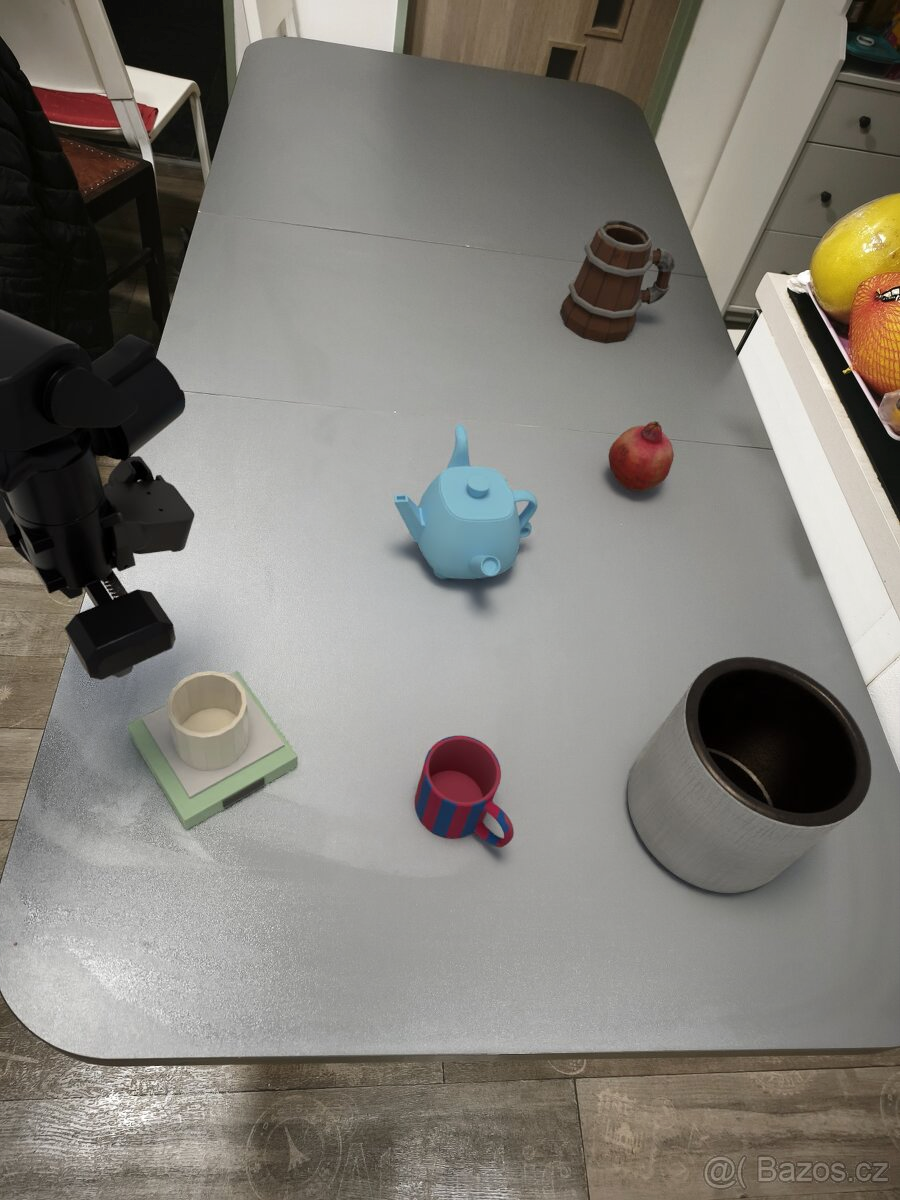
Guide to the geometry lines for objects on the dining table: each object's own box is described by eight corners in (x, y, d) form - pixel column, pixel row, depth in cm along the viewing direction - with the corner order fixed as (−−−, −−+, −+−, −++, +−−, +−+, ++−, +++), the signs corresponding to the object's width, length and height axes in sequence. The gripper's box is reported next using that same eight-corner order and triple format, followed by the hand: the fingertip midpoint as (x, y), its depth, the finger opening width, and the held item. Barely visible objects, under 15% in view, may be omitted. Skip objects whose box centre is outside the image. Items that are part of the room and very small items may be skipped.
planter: (814, 883, 76) (913, 813, 64) (658, 911, 72) (733, 842, 60) (742, 732, 85) (816, 646, 73) (601, 749, 81) (655, 661, 69)
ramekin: (196, 783, 70) (189, 750, 65) (161, 729, 73) (153, 693, 68) (262, 747, 73) (260, 713, 68) (227, 696, 76) (223, 659, 71)
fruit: (671, 495, 107) (701, 436, 100) (625, 511, 104) (652, 452, 96) (634, 456, 111) (660, 396, 104) (588, 471, 108) (611, 410, 100)
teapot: (371, 548, 93) (380, 475, 85) (445, 491, 101) (460, 418, 92) (477, 623, 89) (497, 554, 80) (545, 557, 97) (570, 488, 88)
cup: (459, 759, 78) (471, 723, 73) (522, 845, 74) (540, 813, 68) (400, 791, 75) (409, 756, 70) (462, 884, 71) (476, 854, 65)
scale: (187, 832, 70) (184, 820, 68) (129, 735, 74) (125, 722, 73) (298, 767, 75) (299, 755, 73) (238, 681, 80) (237, 667, 78)
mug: (570, 341, 127) (598, 249, 115) (554, 298, 134) (579, 207, 122) (663, 347, 130) (700, 258, 118) (643, 304, 137) (676, 217, 126)
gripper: (237, 540, 54) (246, 671, 66) (115, 383, 62) (143, 525, 74) (68, 608, 49) (111, 737, 61) (-42, 427, 57) (15, 572, 69)
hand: (99, 633), depth 66 cm, fingers open, 9 cm apart
